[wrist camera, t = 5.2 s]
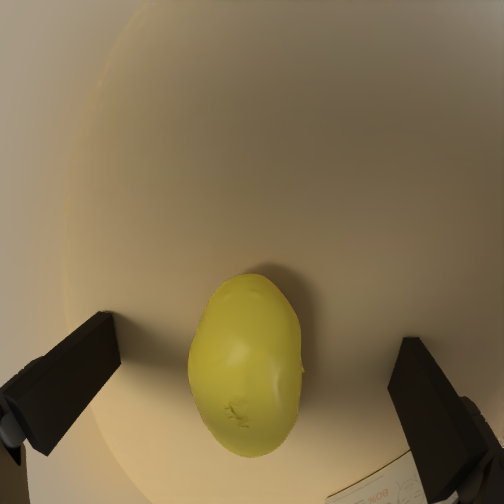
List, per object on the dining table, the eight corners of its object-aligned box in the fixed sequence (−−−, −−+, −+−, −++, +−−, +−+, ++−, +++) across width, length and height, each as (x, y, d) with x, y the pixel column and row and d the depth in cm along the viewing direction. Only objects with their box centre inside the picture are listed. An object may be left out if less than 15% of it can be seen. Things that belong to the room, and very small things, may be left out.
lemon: (318, 266, 11) (333, 314, 7) (288, 422, 13) (286, 486, 9) (202, 254, 11) (162, 295, 7) (203, 411, 13) (181, 471, 9)
